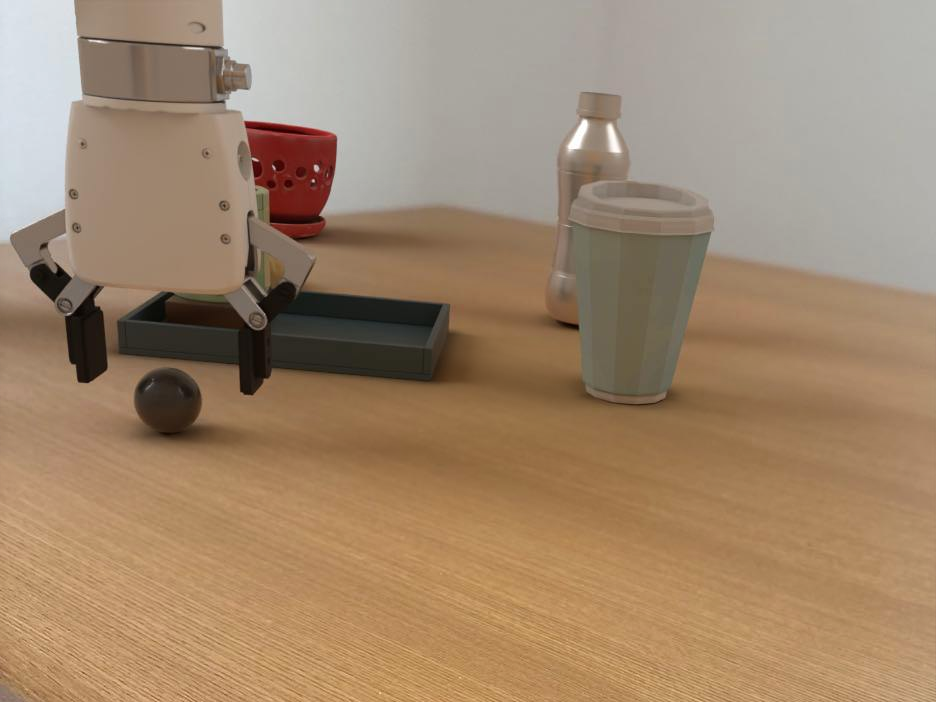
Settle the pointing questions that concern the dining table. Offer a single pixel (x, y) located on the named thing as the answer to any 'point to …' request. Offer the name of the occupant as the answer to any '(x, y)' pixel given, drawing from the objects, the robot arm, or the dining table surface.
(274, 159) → the flower pot
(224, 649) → the dining table surface
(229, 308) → the riser
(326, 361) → the tray
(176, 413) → the ball
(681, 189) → the disposable coffee cup
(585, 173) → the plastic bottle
